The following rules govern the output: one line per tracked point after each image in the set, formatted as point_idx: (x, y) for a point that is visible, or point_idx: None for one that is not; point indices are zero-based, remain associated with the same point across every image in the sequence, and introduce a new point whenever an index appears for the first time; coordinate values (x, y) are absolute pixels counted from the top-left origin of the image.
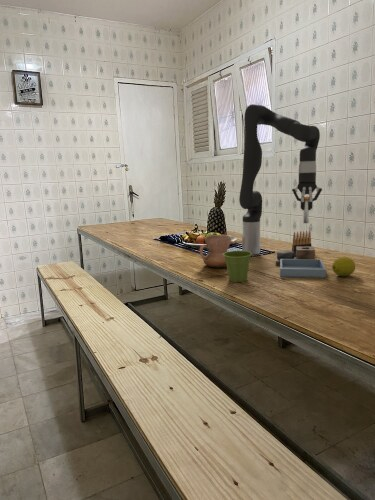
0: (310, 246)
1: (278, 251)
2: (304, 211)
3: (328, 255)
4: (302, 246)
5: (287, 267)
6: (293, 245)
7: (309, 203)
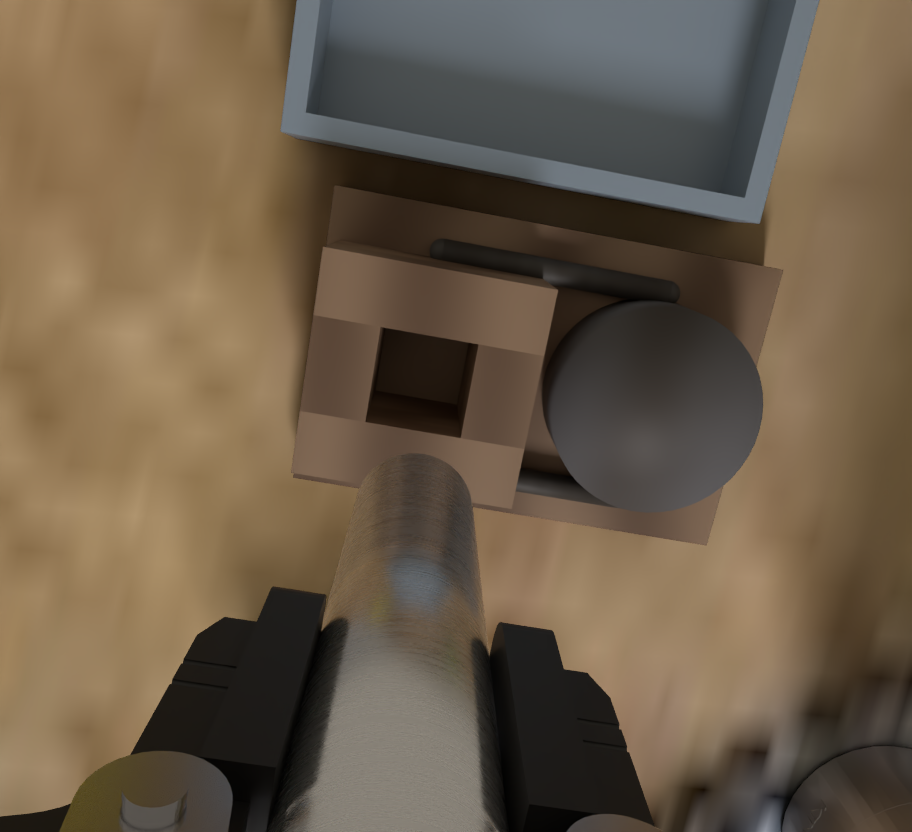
0: None
1: (731, 466)
2: (469, 602)
3: (102, 644)
4: None
5: (684, 91)
6: None
7: (275, 722)
